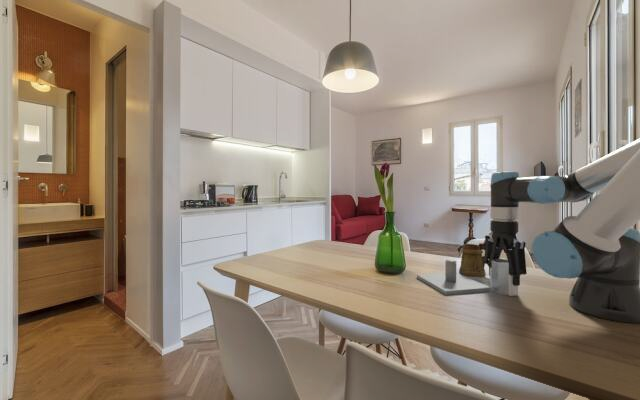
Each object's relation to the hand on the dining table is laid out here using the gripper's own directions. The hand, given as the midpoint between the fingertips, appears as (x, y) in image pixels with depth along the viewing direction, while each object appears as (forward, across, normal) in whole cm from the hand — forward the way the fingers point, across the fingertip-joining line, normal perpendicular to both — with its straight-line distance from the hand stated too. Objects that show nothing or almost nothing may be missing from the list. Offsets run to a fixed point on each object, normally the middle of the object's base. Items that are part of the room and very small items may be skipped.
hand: (503, 290), depth 92 cm
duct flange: (0, +10, +12) cm, 16 cm away
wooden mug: (+1, +19, -6) cm, 20 cm away
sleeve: (0, 0, 0) cm, 0 cm away
